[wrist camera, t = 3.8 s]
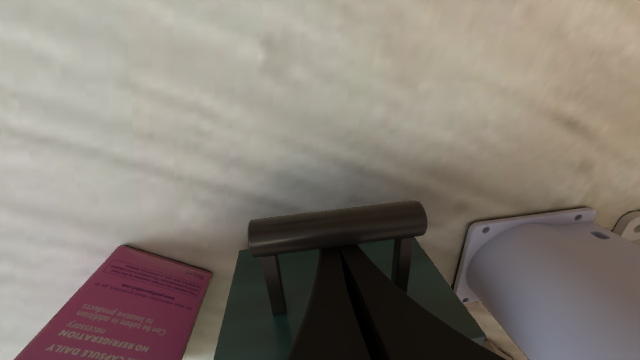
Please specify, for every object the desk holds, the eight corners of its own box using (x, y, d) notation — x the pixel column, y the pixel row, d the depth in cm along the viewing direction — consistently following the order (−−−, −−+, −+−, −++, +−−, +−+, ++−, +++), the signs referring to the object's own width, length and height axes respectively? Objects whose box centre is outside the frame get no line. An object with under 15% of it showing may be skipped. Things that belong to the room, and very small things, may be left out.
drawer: (220, 178, 13) (160, 289, 6) (416, 158, 13) (524, 238, 7) (270, 368, 20) (264, 501, 14) (393, 347, 21) (437, 463, 15)
